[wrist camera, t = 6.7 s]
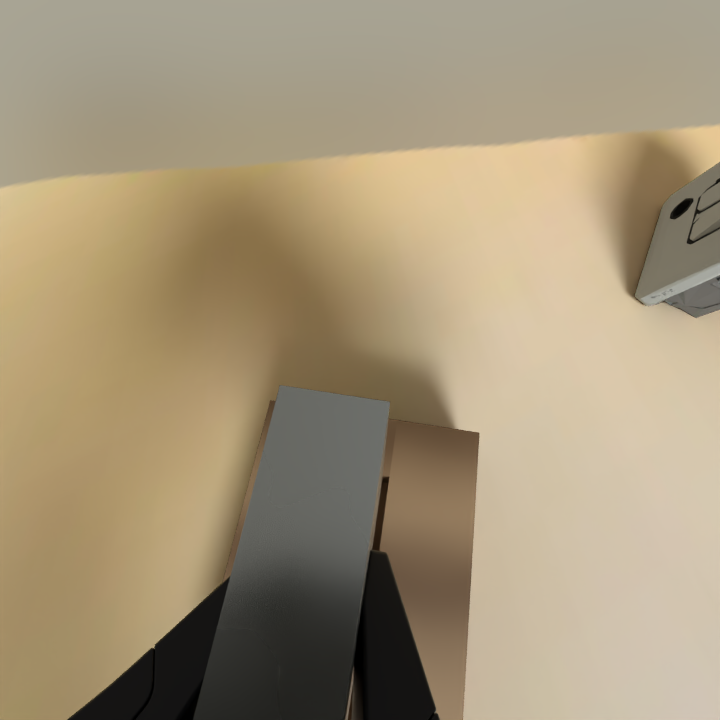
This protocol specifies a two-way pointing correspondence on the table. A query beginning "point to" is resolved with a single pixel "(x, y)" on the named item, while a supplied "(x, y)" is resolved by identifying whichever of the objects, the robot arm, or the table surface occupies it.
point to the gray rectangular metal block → (300, 564)
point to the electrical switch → (686, 249)
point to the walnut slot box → (423, 543)
